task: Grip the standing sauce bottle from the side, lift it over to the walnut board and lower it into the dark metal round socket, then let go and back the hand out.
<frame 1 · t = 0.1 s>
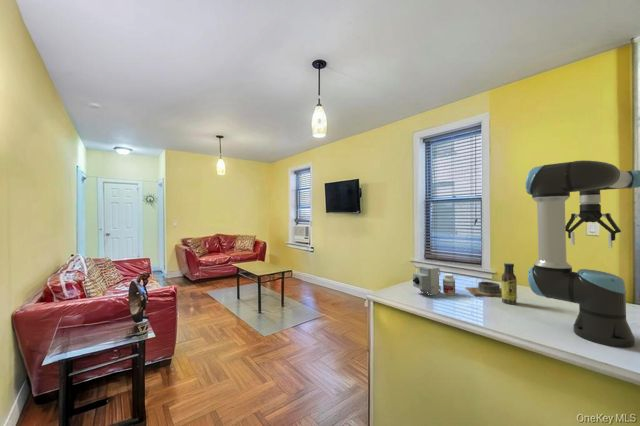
hand: (590, 246, 134), 28 cm above the worktop, tool pointing down, fingers open, 13 cm apart
bottle holder: (489, 293, 151), on the worktop
sauce bottle: (509, 303, 135), on the worktop
pill bottle: (449, 294, 152), on the worktop
circuit breaker: (425, 293, 153), on the worktop
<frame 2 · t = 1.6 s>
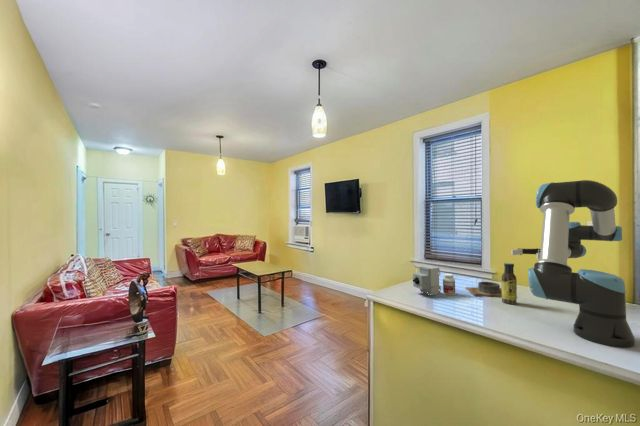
hand: (523, 254, 137), 24 cm above the worktop, tool horizontal, fingers open, 13 cm apart
nothing on the worktop moved.
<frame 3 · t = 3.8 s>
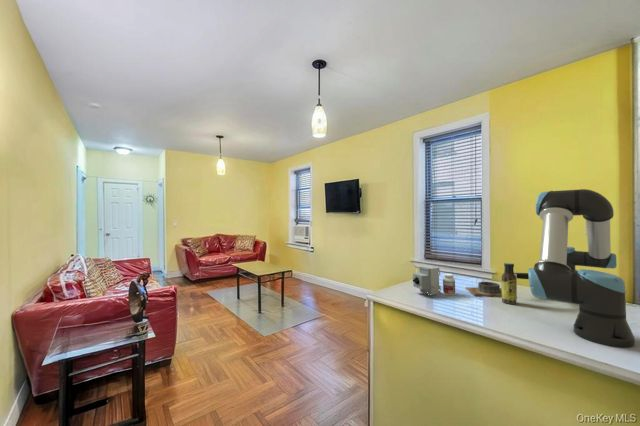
hand: (517, 280, 136), 11 cm above the worktop, tool horizontal, fingers open, 13 cm apart
nothing on the worktop moved.
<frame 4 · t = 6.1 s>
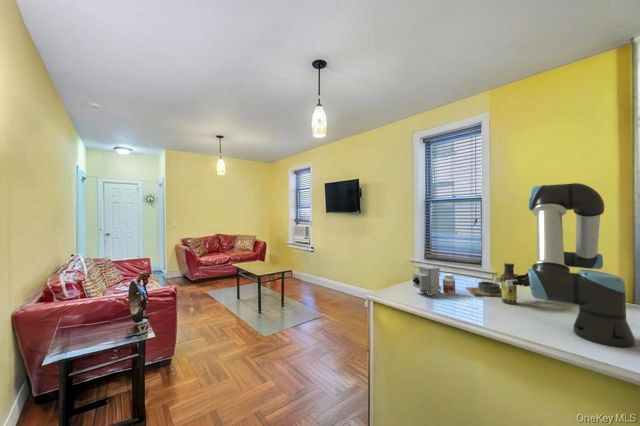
hand: (500, 281, 134), 11 cm above the worktop, tool horizontal, fingers closed on sauce bottle, 6 cm apart
sauce bottle: (509, 303, 135), on the worktop, touching gripper
everything else where it was.
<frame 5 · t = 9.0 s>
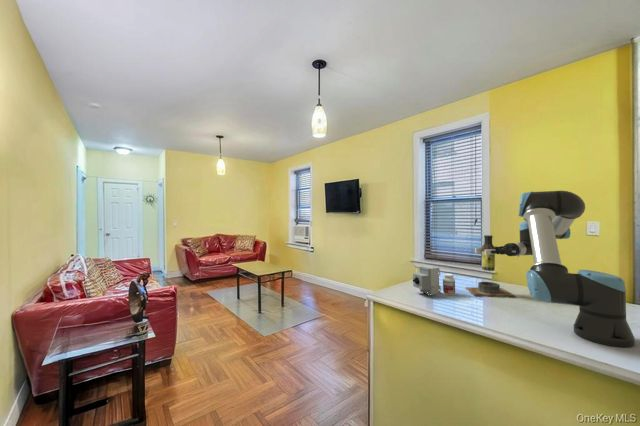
hand: (480, 251, 151), 24 cm above the worktop, tool horizontal, fingers closed on sauce bottle, 6 cm apart
sauce bottle: (488, 270, 152), point 13 cm above the worktop, touching gripper
everything else where it was.
when the fingers open (13 cm above the worktop, at t = 11.7 s): sauce bottle drops 1 cm, resting on bottle holder.
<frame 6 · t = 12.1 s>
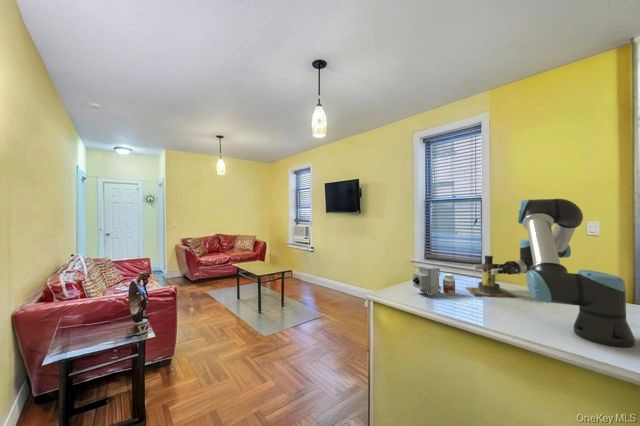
hand: (482, 269, 151), 13 cm above the worktop, tool horizontal, fingers open, 12 cm apart
sauce bottle: (489, 291, 152), point 1 cm above the worktop, touching bottle holder
everything else where it was.
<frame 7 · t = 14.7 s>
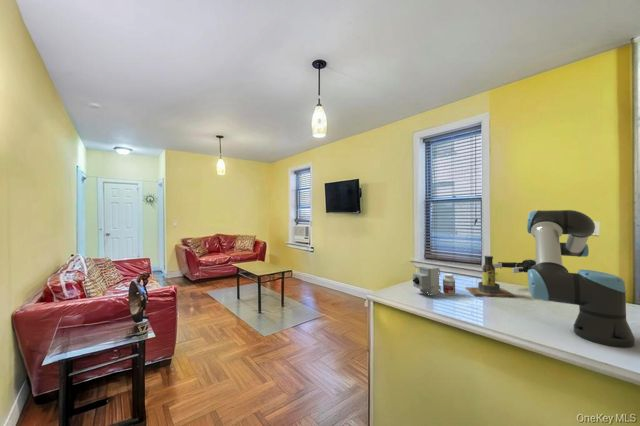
hand: (502, 268, 154), 14 cm above the worktop, tool horizontal, fingers open, 13 cm apart
nothing on the worktop moved.
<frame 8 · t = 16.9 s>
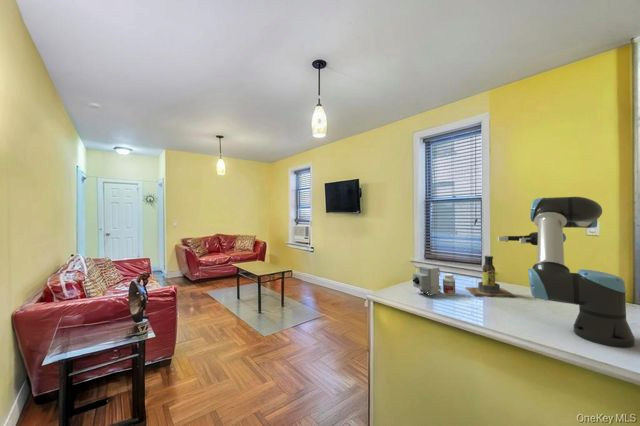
hand: (508, 240, 151), 30 cm above the worktop, tool horizontal, fingers open, 13 cm apart
nothing on the worktop moved.
at the end: sauce bottle 0.2 cm off-centre on the bottle holder, point 1.0 cm above the bottle holder's base; sauce bottle tilted 0°; the gripper is holding nothing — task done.
